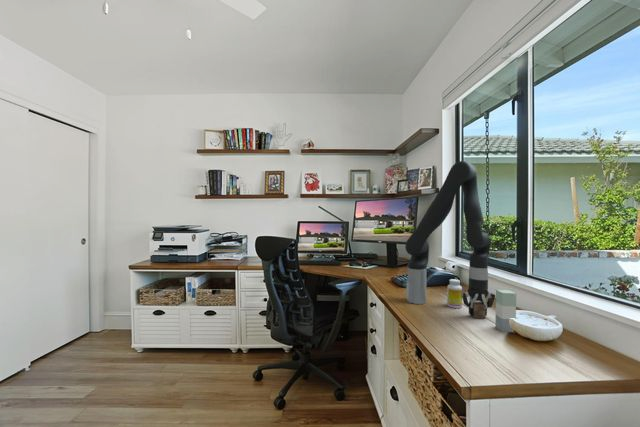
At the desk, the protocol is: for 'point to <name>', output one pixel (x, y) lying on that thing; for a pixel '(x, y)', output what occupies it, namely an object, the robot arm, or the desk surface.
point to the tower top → (506, 298)
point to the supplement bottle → (454, 294)
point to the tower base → (503, 324)
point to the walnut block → (479, 310)
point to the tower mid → (505, 311)
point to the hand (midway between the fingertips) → (477, 315)
